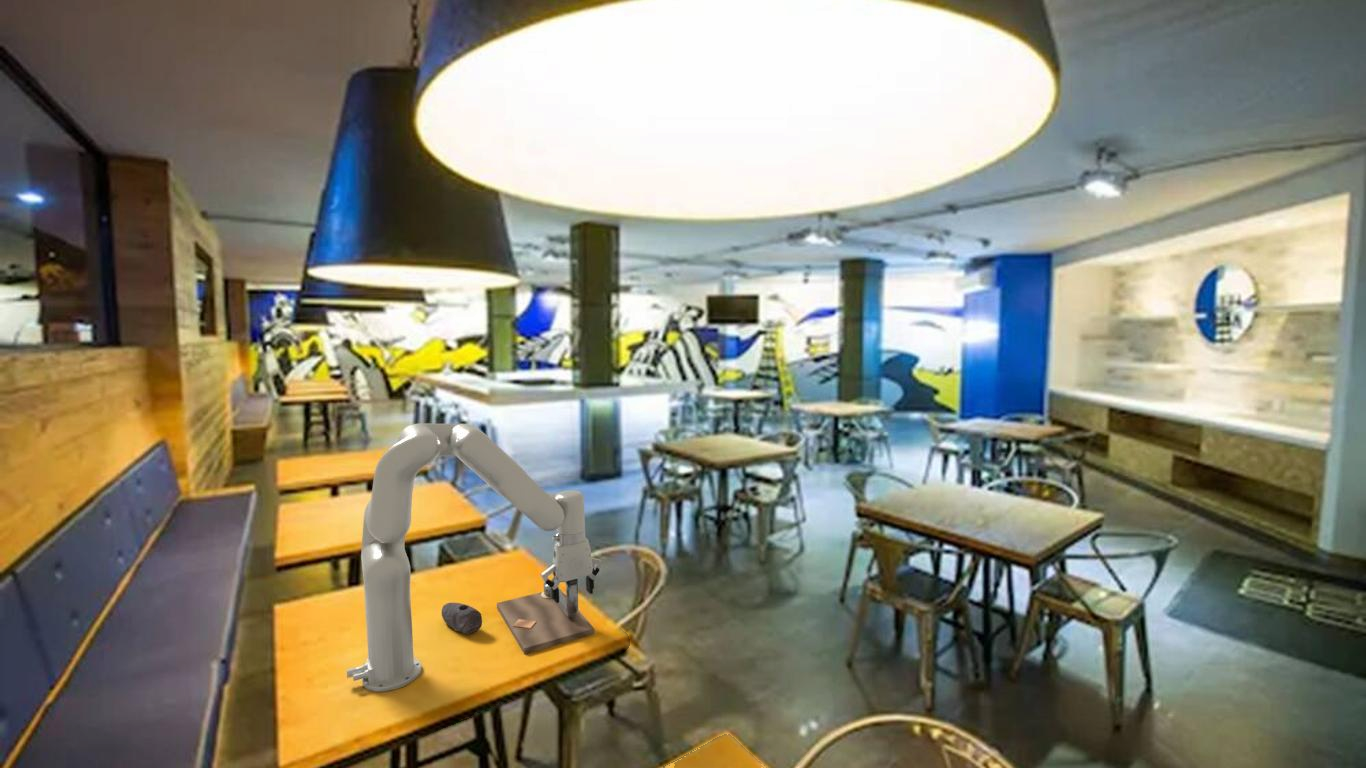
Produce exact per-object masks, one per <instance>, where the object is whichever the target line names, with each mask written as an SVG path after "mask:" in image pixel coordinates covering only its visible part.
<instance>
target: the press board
mask: <svg viewBox="0 0 1366 768" xmlns="http://www.w3.org/2000/svg"><path fill="white" fill-rule="evenodd" d="M559 590H560V591H561V592H562V594H563V595H564V596H565V597H566V593H564V591H563V590H562V589H561V588H560V587H559ZM496 609H497V611H498V613H499V614H500V615H501V618H502V620H503V621H504V622H505V624H506V626H507V627H508V629H509V631H510V633H511V635H512V636H513V638H514V639H515V641H516V642H517V645H518V646H519V648H520V650H521V651H522V652H523V654H524V655H528V654H530V653H533V652H538V651H539V650H540V651H541V650H543V649H547V648H551V647H555V646H557V645H561V644H565V643H568V642H571V641H575V640H577V639H581V638H586V637H589V636H593V635H594V634H595V628H594V626H593V625H592V624H591V623H590V621H589V620H587V618H586V617H585V616H584V615H583V614H582V612H581V611H580V610H579V609H578V611H577V612H576V616H572V617H567V616H566V614H565V613H564V612H563V611H562V609H561V608H560V607H559V606H558V605H557V603H556V602H555V601H554V600H553V599H552V597H551V596H548V595H545V594H544V590H543V591H541V592H537V593H533V594H529V595H525V596H520V597H517V598H516V597H515V598H513V599H507V600H504V601H503V600H502V601H500V602H497V603H496Z"/></svg>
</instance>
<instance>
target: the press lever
mask: <svg viewBox="0 0 1366 768" xmlns="http://www.w3.org/2000/svg"><path fill="white" fill-rule="evenodd" d="M578 583H579V579H575V580H571V581H567V582H565V595H566V597H565V596H564V595H563V594H562V592H563V591H562V590H561V591H562V592H561V591H560V590H559V603H557V605H558V606H559V607H560V608H561V609H562V611H563V612H564V613H565V614H566V616H567V617H572V616H576V612H577V611H578V610H579V584H578ZM559 586H560V584H559V585H558V589H559V588H560V587H559ZM543 591H544V594H545V595H548V596H551V587H550V586H548V585H547V584H546V583H545V582H544V583H543ZM551 597H552V596H551ZM553 600H554V599H553Z"/></svg>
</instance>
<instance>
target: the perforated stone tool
mask: <svg viewBox="0 0 1366 768" xmlns="http://www.w3.org/2000/svg"><path fill="white" fill-rule="evenodd" d="M441 618H442V620H443V621H444V623H445V624H446V625H447V626H449V627H450V628H452V630H453V629H454V630H455V631H457V632H459V633H464V634H466V635H470V634H471V633H475V632H478V631H479V630H480V629H481V627H482V626H483V618H482V613H481V611H479V610H478V609H476V608H474V607H473V606H471V605H469V604H464V603H460V602H448V603H447V602H446V603H445V604H444V605H443V606H442V608H441Z"/></svg>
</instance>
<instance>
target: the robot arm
mask: <svg viewBox="0 0 1366 768" xmlns="http://www.w3.org/2000/svg"><path fill="white" fill-rule="evenodd" d="M397 439H398V440H397V442H396V443H395V444H393V445H391V447H390V448H388V449H387V450H386V451H385V452H384V454H383V455H382V456H381V457H380V459H379V461H378V462H377V464H376V467H375V470H374V476H373V481H372V483H373V484H372V489H371V496H370V497H371V499H370V500H369V502H368V503H367V505H366V506H365V510H364V512H363V513H364V514H363V526H362V535H361V537H362V539H361V552H360V553H361V554H360V560H361V568H362V569H361V570H362V577H363V590H364V606H365V622H366V623H365V625H366V637H367V638H366V639H367V640H366V641H367V653H368V655H367V658H366V662H365V663H362V664H361V665H360V666H356V667H355V666H354V667H351V668H346V675H347V676H346V678H347V679H349V678H352V679H353V680H352V681H353V682H355V681H359V680H361V682H362V686H363V688H365V689H366V690H368V691H371V692H376V693H377V692H389V691H394V690H397V689H401V688H403V687H404V686H407V685H408V684H410V683H411V682H413V681H414V680H415V679H417V678H418V677H419V676H420V674H421V672H422V663H421V661H420V660H418V659H417V658H416V657H414V639H413V622H412V620H413V619H412V618H413V617H412V603H411V601H412V600H411V563H410V561H409V557H408V556H407V553H406V549H405V541H406V534H408V532H409V530H410V527H411V524H412V505H413V504H412V502H413V492H414V484H415V480H416V476H417V475H418V474H419V472H421V470H423V468H424V467H427V466H428V465H430V464H432V463H433V462H434V461H436V459H437V458H438V457H455V456H456V458H458V459H459V461H460V462H462V463H463V464H464V465H465V466H466V467H467V468H469V469H470V470H471V471H472V472H473V473H474V474H476V476H478V478H480V479H481V480H483V482H485V483H486V484H487V485H488V486H489V487H490V488H491V489H492V490H494V492H496V494H498V495H499V496H500V497H502V498H503V499H505V500H506V501H507V502H509V503H510V504H512V506H514V507H515V508H517V510H518V511H519V512H520V513H522V515H524V516H526V518H527V519H529V520H530V522H532V523H533V524H534V525H535V526H537V527H538V529H540V530H542V531H544V532H553V531H555V530H556V532H555V534H554V535H552V536H551V540H552V542H555V544H554V546H553V547H554V548H553V556H552V565H551V566H550V567H548V568H547V569H545V570H544V571H543V572H541V573H540V577H541V578H542V580H543V582H544V583H546V584H547V585H548V586H550V587H551V596H552V599H554V601H555V602H556V603H559V589H558V585H559V586H560V584H561V583H566V582H567V581H571V580H575V579H578V580H579V579H582V578H585V587H586V589H585V590H586V592H587V593H589V594H590V595H592V594H594V593H593V592H594V589H595V579H596V577H597V575H598V574H599V572H600V569H601V567H602V565H603V560H601V559H599V558H595V557H592V553H591V552H592V551H591V546H590V542H589V541H590V540H589V539H588V538H587V537H586V525H585V524H586V523H585V522H586V521H585V496H584V494H583V493H582V492H581V491H579V490H574V489H570V490H564V491H561V492H546V491H545V490H544V489H543V488H542V487H541V486H540V485H539V484H538V483H537V482H536V481H535V480H533V479H532V477H531V476H530V475H529V474H528V472H526V471H525V470H524V469H523V468H522V467H521V466H520V465H519V464H518V462H517V461H515V460H514V459H513V458H512V457H511V456H510V455H509V454H507V453H506V452H505V451H504V450H503V449H502V448H501V447H500V446H499V445H498V444H497V443H496V442H494V441H493V440H492V439H491V438H490V437H489V436H488V435H487V434H486V433H484V431H482V430H481V429H479V428H478V427H477V426H475V425H473V424H470V423H413V424H410V425H408V426H406V427H405V428H403V429H402V430H401V432H400V433H399V436H398V438H397ZM593 564H594V567H593ZM550 575H553V577H552V579H550V578H549V576H550Z"/></svg>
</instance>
